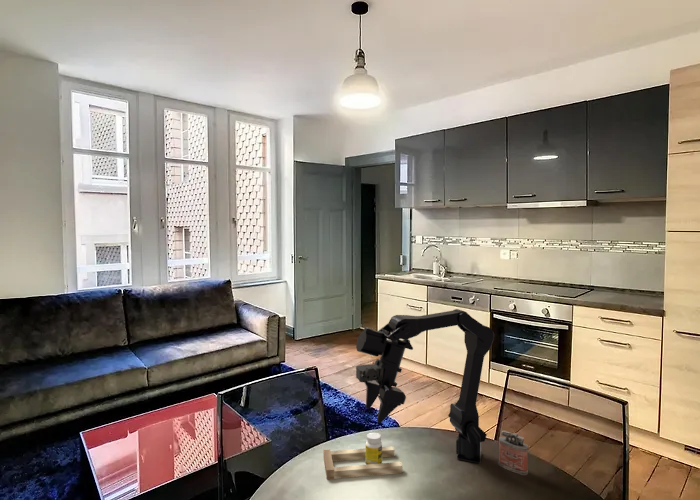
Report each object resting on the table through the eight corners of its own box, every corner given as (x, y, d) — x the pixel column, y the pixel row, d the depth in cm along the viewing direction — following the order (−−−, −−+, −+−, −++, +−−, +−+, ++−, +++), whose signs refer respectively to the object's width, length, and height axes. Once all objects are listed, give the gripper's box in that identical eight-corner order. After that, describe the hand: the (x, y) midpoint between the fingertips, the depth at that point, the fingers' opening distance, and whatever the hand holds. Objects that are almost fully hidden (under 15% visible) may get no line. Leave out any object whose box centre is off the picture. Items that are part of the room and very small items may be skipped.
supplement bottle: (380, 470, 116) (380, 440, 115) (364, 468, 117) (364, 438, 116) (382, 460, 120) (383, 432, 120) (366, 459, 121) (366, 430, 121)
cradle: (392, 452, 125) (392, 444, 125) (402, 472, 114) (402, 463, 114) (323, 458, 122) (323, 449, 122) (326, 479, 111) (326, 470, 111)
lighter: (529, 471, 115) (530, 436, 115) (525, 476, 112) (525, 440, 112) (501, 460, 120) (501, 427, 120) (496, 465, 118) (496, 431, 118)
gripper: (354, 344, 121) (337, 396, 120) (376, 363, 103) (356, 424, 102) (387, 353, 124) (371, 404, 123) (414, 373, 106) (396, 432, 105)
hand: (373, 415), depth 113 cm, fingers open, 9 cm apart
